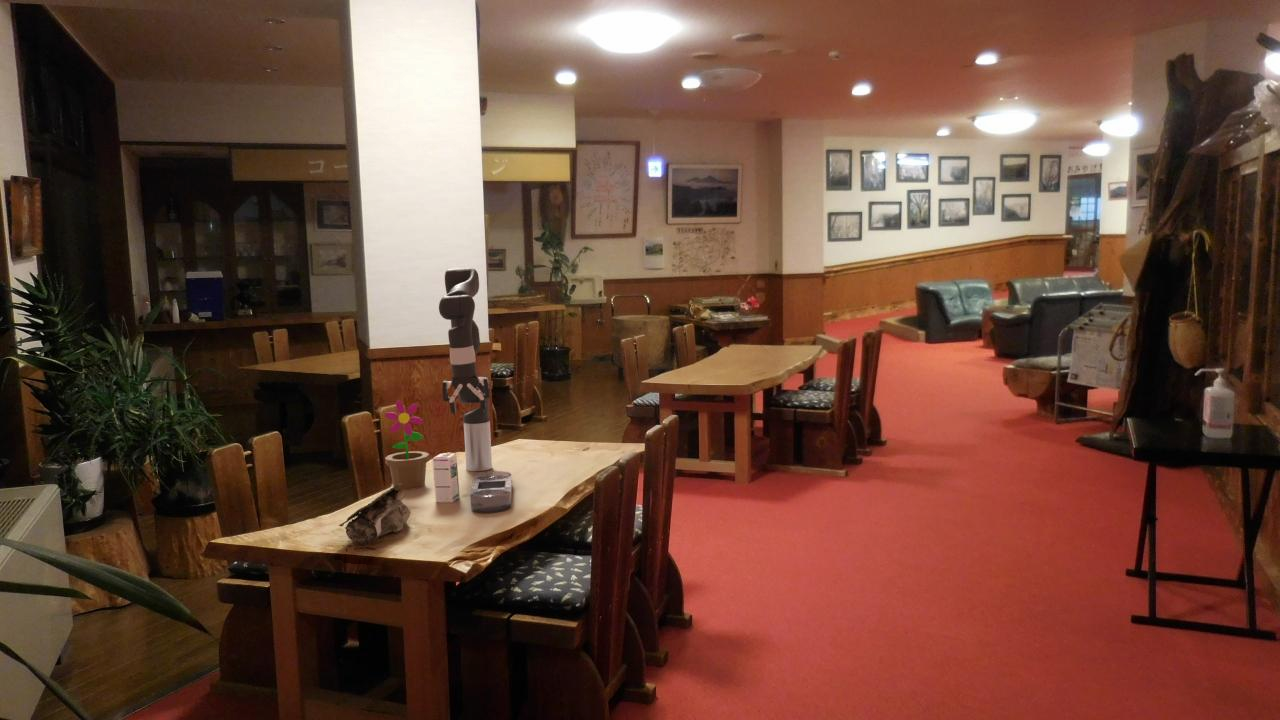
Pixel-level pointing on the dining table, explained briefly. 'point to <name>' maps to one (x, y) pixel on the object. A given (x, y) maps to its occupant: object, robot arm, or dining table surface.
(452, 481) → the syrup box
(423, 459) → the flowerpot
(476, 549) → the dining table surface
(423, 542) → the dining table surface
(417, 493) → the dining table surface
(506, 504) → the link
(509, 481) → the link
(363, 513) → the hollow geode rock
